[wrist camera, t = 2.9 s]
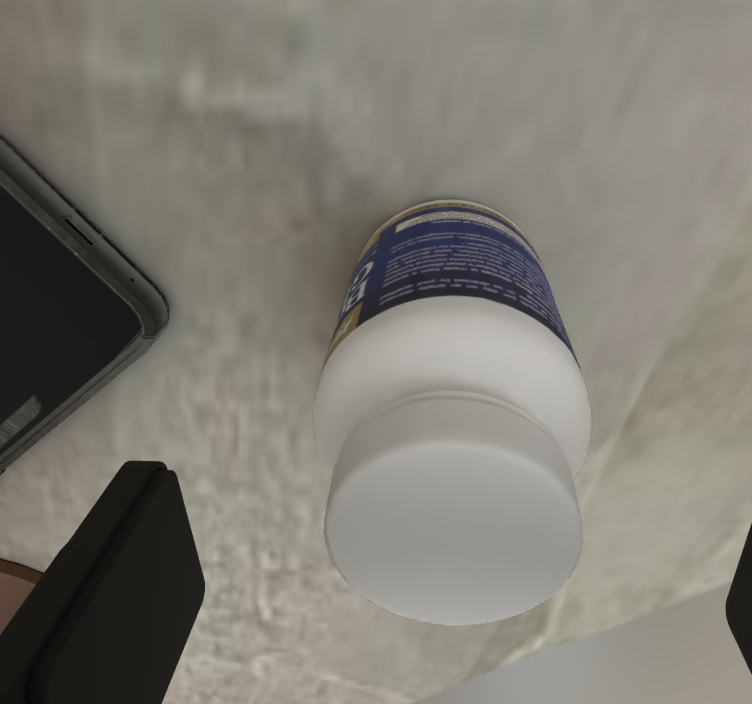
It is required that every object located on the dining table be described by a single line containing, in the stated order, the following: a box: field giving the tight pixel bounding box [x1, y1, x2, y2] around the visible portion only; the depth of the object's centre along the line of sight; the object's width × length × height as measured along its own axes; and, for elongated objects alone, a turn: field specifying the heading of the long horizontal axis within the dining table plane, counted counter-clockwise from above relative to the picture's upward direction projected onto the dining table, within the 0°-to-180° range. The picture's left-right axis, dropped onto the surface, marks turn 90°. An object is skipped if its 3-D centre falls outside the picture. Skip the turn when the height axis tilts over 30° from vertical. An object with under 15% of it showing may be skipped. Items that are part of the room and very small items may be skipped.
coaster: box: [0, 560, 43, 635], centre depth 28 cm, size 10×10×1 cm
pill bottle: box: [313, 199, 591, 625], centre depth 14 cm, size 5×5×10 cm
